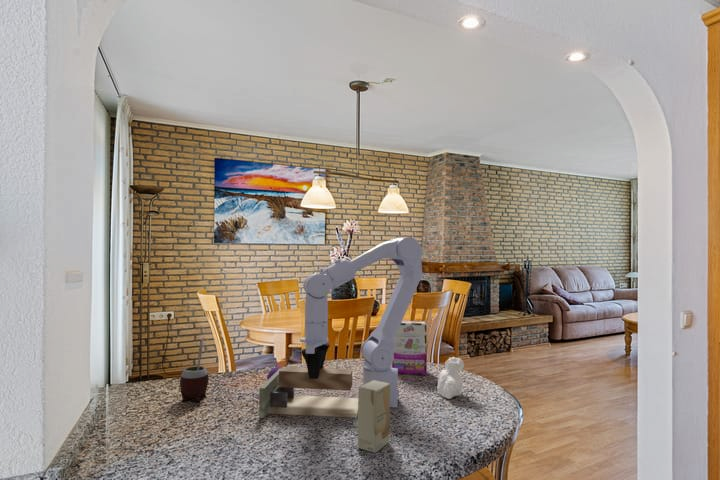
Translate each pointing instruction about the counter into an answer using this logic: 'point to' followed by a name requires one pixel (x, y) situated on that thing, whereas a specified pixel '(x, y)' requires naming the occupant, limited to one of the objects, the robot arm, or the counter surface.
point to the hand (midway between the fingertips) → (315, 375)
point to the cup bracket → (302, 402)
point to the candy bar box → (411, 348)
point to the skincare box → (373, 415)
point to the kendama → (277, 368)
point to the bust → (450, 378)
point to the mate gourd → (194, 381)
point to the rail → (326, 379)
